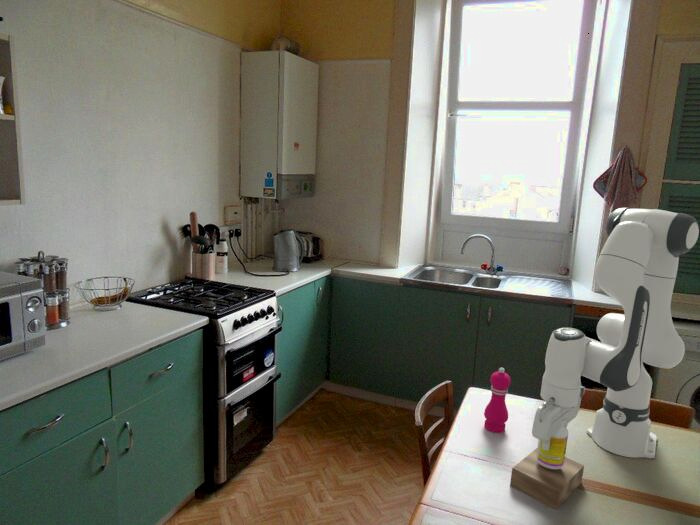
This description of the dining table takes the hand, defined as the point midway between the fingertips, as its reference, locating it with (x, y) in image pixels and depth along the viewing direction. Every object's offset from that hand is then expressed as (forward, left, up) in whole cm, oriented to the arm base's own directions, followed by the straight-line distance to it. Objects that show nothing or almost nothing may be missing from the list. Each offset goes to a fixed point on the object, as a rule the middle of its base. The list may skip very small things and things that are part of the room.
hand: (552, 443), depth 128 cm
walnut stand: (0, 0, -12) cm, 12 cm away
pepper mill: (-16, -24, -12) cm, 31 cm away
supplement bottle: (0, 0, -6) cm, 6 cm away
